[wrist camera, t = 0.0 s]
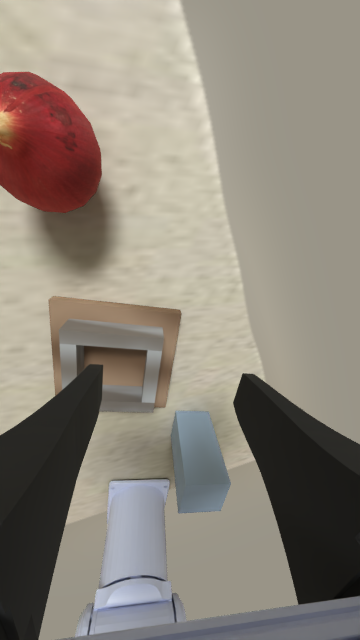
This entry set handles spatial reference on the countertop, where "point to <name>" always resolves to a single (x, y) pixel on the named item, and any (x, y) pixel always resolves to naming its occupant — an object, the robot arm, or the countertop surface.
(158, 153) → the countertop surface
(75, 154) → the onion
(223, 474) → the peg
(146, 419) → the countertop surface
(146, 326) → the socket board
